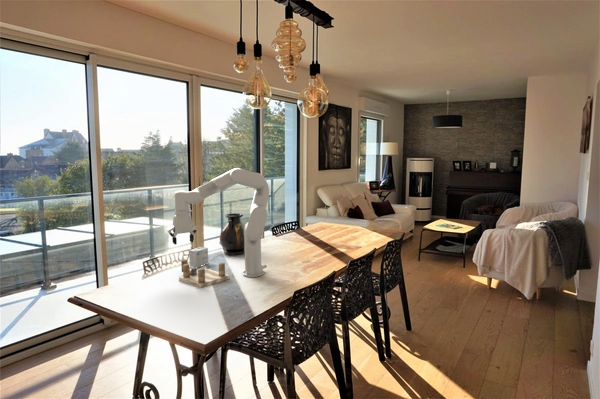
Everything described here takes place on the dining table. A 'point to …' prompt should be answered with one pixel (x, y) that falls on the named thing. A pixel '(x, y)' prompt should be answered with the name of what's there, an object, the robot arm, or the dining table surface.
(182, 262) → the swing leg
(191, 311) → the dining table surface
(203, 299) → the dining table surface
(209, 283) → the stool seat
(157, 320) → the dining table surface
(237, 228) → the amphora vase
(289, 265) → the dining table surface
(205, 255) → the light bulb box
